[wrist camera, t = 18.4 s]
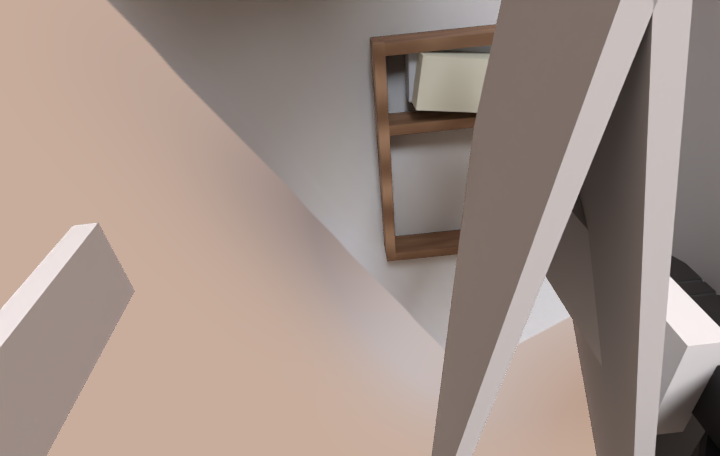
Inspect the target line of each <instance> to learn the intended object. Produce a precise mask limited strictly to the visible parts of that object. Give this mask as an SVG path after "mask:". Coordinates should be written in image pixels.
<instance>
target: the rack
mask: <svg viewBox="0 0 720 456" xmlns="http://www.w3.org/2000/svg"><path fill="white" fill-rule="evenodd" d="M495 28H496V24H495V25H486V26H476V27H466V28H457V29H447V30H438V31H428V32H418V33H409V34H399V35H390V36H380V37H370V42H371V56H372V71H373V86H374V100H375V115H376V129H377V144H378V158H379V173H380V188H381V202H382V217H383V231H384V245H385V251H386V256H387V261H395V260H405V259H414V258H424V257H434V256H443V255H453V254H458V247H459V239H460V231H461V230H453V231H443V232H433V233H424V234H414V235H405V236H395V230H394V211H393V192H392V172H391V153H390V136H395V135H404V134H414V133H424V132H433V131H443V130H452V129H462V128H472V127H474V124H475V120H476V115H477V113H473V112H448V111H424V110H420V111H411V112H401V113H391V114H388V95H387V75H386V56H392V55H401V54H411V53H420V52H430V51H440V50H449V49H459V48H468V47H478V46H488V45H492V42H493V37H494V33H495Z"/></svg>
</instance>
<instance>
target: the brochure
mask: <svg viewBox="0 0 720 456" xmlns="http://www.w3.org/2000/svg"><path fill="white" fill-rule="evenodd" d="M578 195H579V198H580V202H581V206H582V209H583V213H584V217H585V220H586V224H587V228H588V233H589V243H590V253H591V263H592V272H593V282H594V292H595V302H596V311H597V321H598V331H599V340H600V350H601V360H602V366H601V364H600V362H599V361H598V359H597V358H596V356H595V354H594V353H593V351H592V349H591V348H590V346H589V345H588V343H587V341H586V340H585V338H584V337H583V335H582V333H581V332H580V330H579V329H578V327H577V325H576V324H575V322H574V321H573V324H574V330H575V336H576V341H577V347H578V353H579V358H580V364H581V370H582V375H583V381H584V386H585V392H586V398H587V403H588V409H589V414H590V420H591V426H592V432H593V438H594V443H595V449H596V454H597V456H691V454H692V452H693V451H694V449H695V447H696V446H697V444H698V443H699V441H700V439H701V438H702V436H703V434H704V433H705V430H704V429H703V427H702V426H701V425H700V423H699V422H698V421H697V419H696V418H695V417H694V415H693V414H692V416H691V418H690V420H689V422H688V423H687V425H686V427H685V429H684V431H683V432H676V433H667V434H659V435H657V423H658V411H659V399H660V386H661V374H662V362H663V350H664V338H665V326H666V314H667V302H668V290H669V278H670V266H671V255H672V256H674V257H676V258H677V259H679V260H681V261H683V262H685V263H686V264H687V265H688V266H689V267H690V268H691V269H692V270H694V271H695V272H696V273H697V274H698V275H699V276H700V277H701V278H702V281H703V282H706V283H707V284H708V285H710V286H711V287H712V288H713V289H714V290H715V291H716V295H720V0H502V1H501V5H500V10H499V14H498V19H497V23H496V28H495V33H494V37H493V42H492V46H491V51H490V56H489V60H488V65H487V69H486V74H485V78H484V83H483V88H482V92H481V97H480V101H479V106H478V111H477V115H476V120H475V124H474V130H473V137H472V145H471V153H470V161H469V169H468V176H467V184H466V192H465V200H464V208H463V215H462V223H461V231H460V239H459V247H458V254H457V262H456V270H455V278H454V286H453V294H452V301H451V309H450V317H449V325H448V333H447V340H446V348H445V356H444V364H443V372H442V380H441V387H440V395H439V403H438V411H437V418H436V426H435V434H434V442H433V450H432V456H472V455H473V453H474V450H475V448H476V445H477V443H478V441H479V438H480V436H481V433H482V431H483V428H484V426H485V423H486V421H487V418H488V416H489V413H490V411H491V409H492V406H493V404H494V401H495V399H496V396H497V394H498V391H499V389H500V386H501V384H502V381H503V379H504V377H505V374H506V372H507V369H508V367H509V364H510V362H511V359H512V357H513V354H514V352H515V349H516V347H517V345H518V342H519V340H520V337H521V335H522V332H523V330H524V327H525V325H526V322H527V320H528V318H529V315H530V313H531V310H532V308H533V305H534V303H535V300H536V298H537V295H538V293H539V291H540V288H541V286H542V283H543V281H544V278H545V276H546V273H547V271H548V268H549V266H550V263H551V261H552V259H553V256H554V254H555V251H556V249H557V246H558V244H559V241H560V239H561V236H562V234H563V232H564V229H565V227H566V224H567V222H568V219H569V217H570V214H571V212H572V209H573V207H574V204H575V202H576V200H577V197H578Z"/></svg>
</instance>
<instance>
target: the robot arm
mask: <svg viewBox="0 0 720 456" xmlns="http://www.w3.org/2000/svg"><path fill="white" fill-rule="evenodd" d="M546 277H547V279H548V281H549V282H550V284H551V285H552V287H553V289H554V290H555V292H556V293H557V295H558V297H559V298H560V300H561V301H562V303H563V305H564V306H565V308H566V309H567V311H568V313H569V314H570V316H571V317H572V319H573V321H574V322H575V324H576V325H577V327H578V329H579V330H580V332H581V333H582V335H583V337H584V338H585V340H586V341H587V343H588V345H589V346H590V348H591V349H592V351H593V353H594V354H595V356H596V358H597V359H598V361H599V362H600V364H601V366H602V360H601V350H600V340H599V331H598V321H597V311H596V302H595V292H594V282H593V272H592V263H591V253H590V243H589V233H588V228H587V224H586V220H585V217H584V213H583V209H582V206H581V202H580V198H579V195H578V197H577V200H576V202H575V204H574V207H573V209H572V212H571V214H570V217H569V219H568V222H567V224H566V227H565V229H564V232H563V234H562V236H561V239H560V241H559V244H558V246H557V249H556V251H555V254H554V256H553V259H552V261H551V263H550V266H549V268H548V271H547V273H546ZM133 293H134V289H133V287H132V285H131V283H130V281H129V280H128V278H127V276H126V274H125V272H124V270H123V268H122V266H121V264H120V263H119V261H118V259H117V257H116V255H115V253H114V251H113V249H112V248H111V246H110V244H109V242H108V240H107V238H106V236H105V235H104V233H103V231H102V229H101V227H100V225H99V223H91V224H82V225H74V226H72V227H71V228H70V230H69V231H68V232H67V233H66V234H65V235H64V237H63V238H62V239H61V240H60V241H59V242H58V244H57V245H56V246H55V247H54V248H53V249H52V250H51V252H50V253H49V254H48V255H47V256H46V257H45V259H44V260H43V261H42V262H41V263H40V264H39V266H38V267H37V268H36V269H35V270H34V271H33V272H32V274H31V275H30V276H29V277H28V278H27V279H26V280H25V282H24V283H23V284H22V285H21V286H20V287H19V289H18V290H17V291H16V292H15V293H14V294H13V296H12V297H11V298H10V299H9V300H8V301H7V303H6V304H5V305H4V306H3V307H2V308H1V309H0V456H47V454H48V452H49V450H50V448H51V446H52V444H53V442H54V441H55V439H56V437H57V435H58V433H59V431H60V429H61V427H62V426H63V424H64V422H65V420H66V418H67V416H68V414H69V413H70V410H71V409H72V407H73V405H74V403H75V401H76V399H77V398H78V396H79V394H80V392H81V390H82V388H83V387H84V385H85V383H86V381H87V379H88V377H89V375H90V373H91V371H92V370H93V368H94V366H95V364H96V362H97V360H98V359H99V357H100V355H101V353H102V351H103V349H104V347H105V345H106V344H107V341H108V340H109V338H110V336H111V334H112V332H113V331H114V329H115V326H116V325H117V323H118V321H119V319H120V317H121V316H122V314H123V312H124V310H125V308H126V306H127V304H128V302H129V301H130V299H131V297H132V295H133ZM692 414H693V415H694V417H695V418H696V419H697V421H698V422H699V423H700V425H701V426H702V427H703V429H704V430H705V433H704V434H703V436H702V438H701V439H700V441H699V443H698V444H697V446H696V447H695V449H694V451H693V452H692V454H691V456H720V295H716V291H715V290H714V289H713V288H712V287H711V286H710V285H708V284H707V283H706V282H703V281H702V278H701V277H700V276H699V275H698V274H697V273H696V272H695V271H694V270H692V269H691V268H690V267H689V266H688V265H687V264H686V263H685V262H683V261H681V260H679V259H677V258H676V257H674V256H672V255H671V266H670V278H669V290H668V302H667V314H666V326H665V338H664V350H663V362H662V374H661V386H660V399H659V411H658V423H657V435H659V434H667V433H676V432H683V431H684V429H685V427H686V425H687V423H688V422H689V420H690V418H691V416H692Z"/></svg>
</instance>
